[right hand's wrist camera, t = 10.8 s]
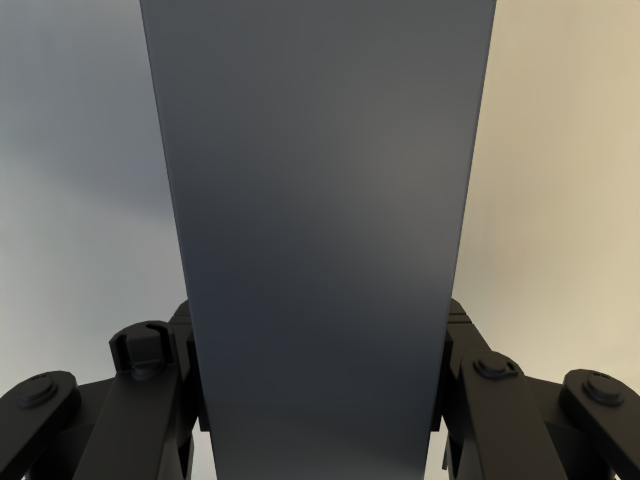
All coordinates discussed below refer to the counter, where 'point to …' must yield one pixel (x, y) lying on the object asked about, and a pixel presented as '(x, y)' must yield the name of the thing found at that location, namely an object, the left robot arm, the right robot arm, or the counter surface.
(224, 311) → the beam
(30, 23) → the counter surface
